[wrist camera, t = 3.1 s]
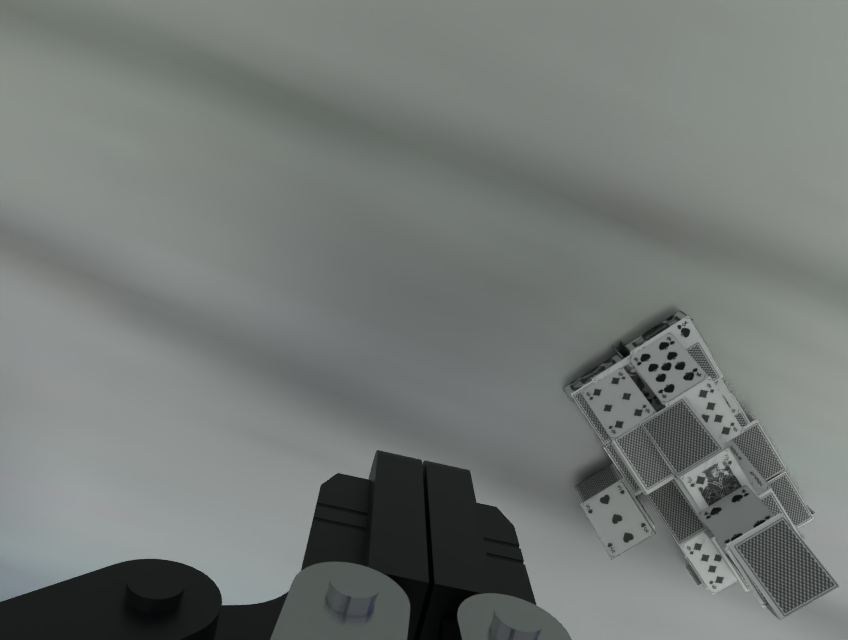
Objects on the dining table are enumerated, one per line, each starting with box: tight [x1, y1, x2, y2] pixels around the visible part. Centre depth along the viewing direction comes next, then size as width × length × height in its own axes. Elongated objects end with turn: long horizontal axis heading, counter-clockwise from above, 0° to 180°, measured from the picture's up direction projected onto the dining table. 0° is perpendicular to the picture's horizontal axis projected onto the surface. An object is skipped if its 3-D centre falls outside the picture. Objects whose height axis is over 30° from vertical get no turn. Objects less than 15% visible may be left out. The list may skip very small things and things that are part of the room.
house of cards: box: [563, 311, 839, 620], centre depth 19 cm, size 9×9×8 cm
